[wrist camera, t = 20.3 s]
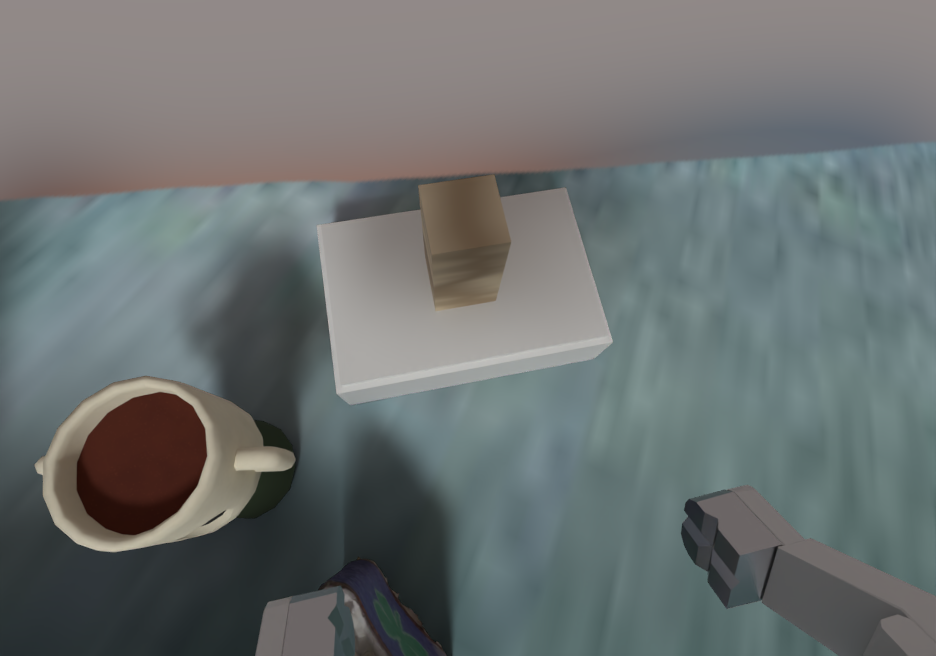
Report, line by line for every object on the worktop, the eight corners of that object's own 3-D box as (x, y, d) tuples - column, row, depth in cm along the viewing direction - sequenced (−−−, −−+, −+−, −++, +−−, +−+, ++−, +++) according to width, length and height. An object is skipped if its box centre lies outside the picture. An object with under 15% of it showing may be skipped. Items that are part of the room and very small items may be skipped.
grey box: (350, 405, 34) (334, 392, 29) (331, 254, 37) (314, 220, 33) (593, 358, 36) (616, 339, 31) (553, 219, 39) (567, 182, 34)
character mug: (159, 529, 31) (-34, 559, 18) (176, 418, 33) (14, 378, 21) (330, 522, 31) (255, 547, 19) (336, 413, 34) (272, 371, 21)
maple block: (435, 311, 31) (431, 254, 23) (424, 256, 32) (418, 185, 25) (495, 300, 31) (511, 242, 24) (483, 247, 32) (494, 174, 25)
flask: (461, 669, 29) (468, 768, 19) (424, 708, 28) (410, 833, 18) (366, 546, 31) (326, 576, 21) (329, 580, 30) (269, 628, 20)
